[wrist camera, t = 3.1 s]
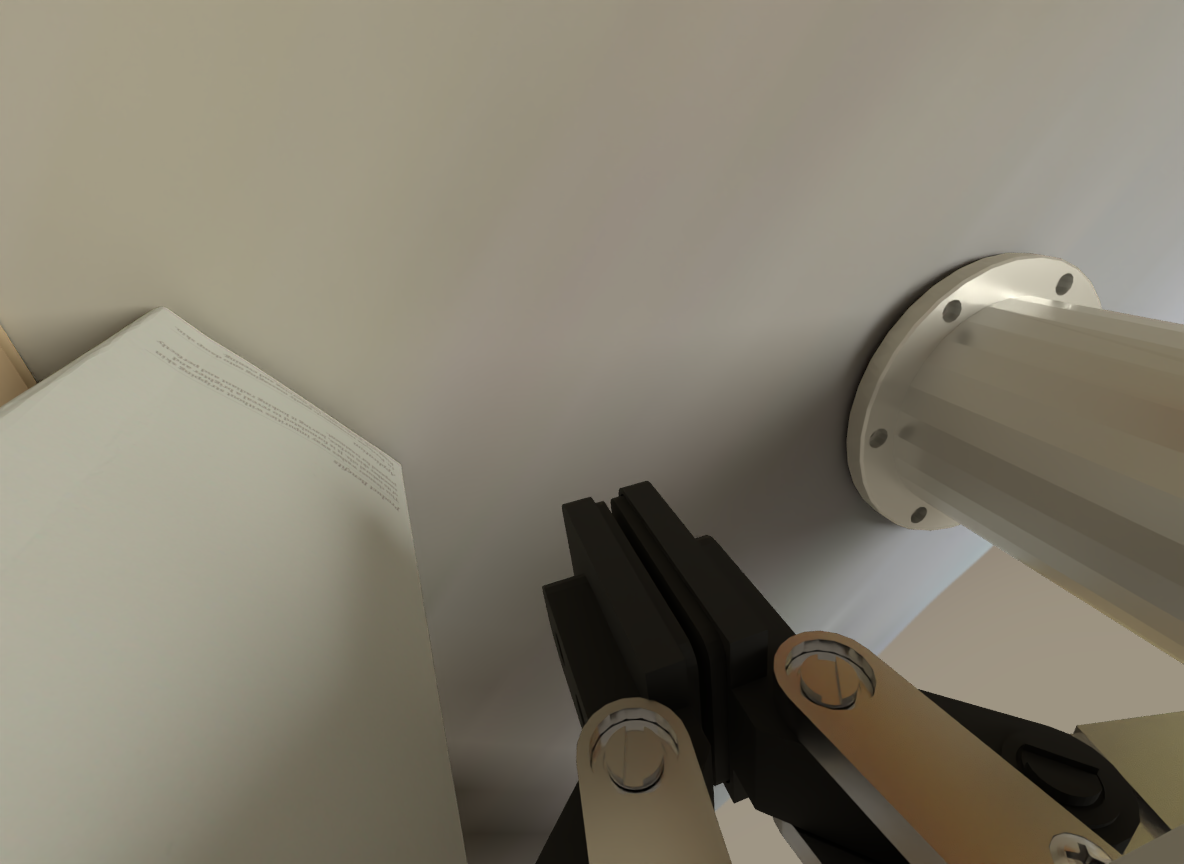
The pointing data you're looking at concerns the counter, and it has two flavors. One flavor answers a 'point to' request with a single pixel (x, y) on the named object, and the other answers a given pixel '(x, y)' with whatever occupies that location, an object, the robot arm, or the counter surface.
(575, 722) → the counter surface
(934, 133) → the counter surface
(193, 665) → the skincare box
